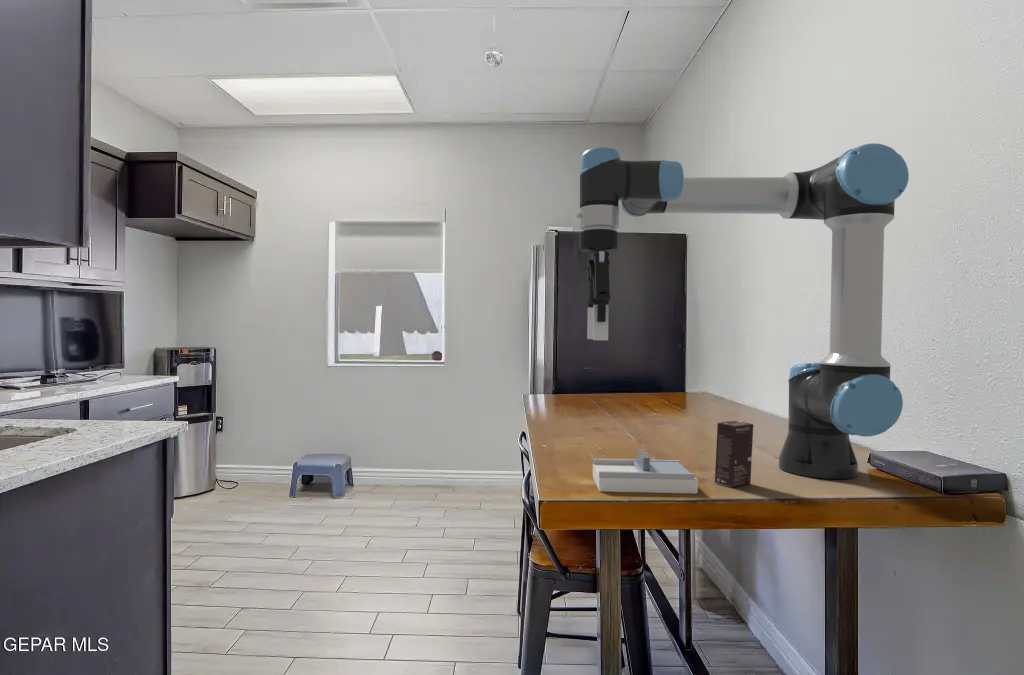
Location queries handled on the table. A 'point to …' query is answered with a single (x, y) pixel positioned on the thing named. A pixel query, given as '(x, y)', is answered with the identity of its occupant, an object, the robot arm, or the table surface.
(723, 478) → the box
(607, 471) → the socket plate
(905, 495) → the table surface
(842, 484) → the table surface
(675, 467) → the panel
